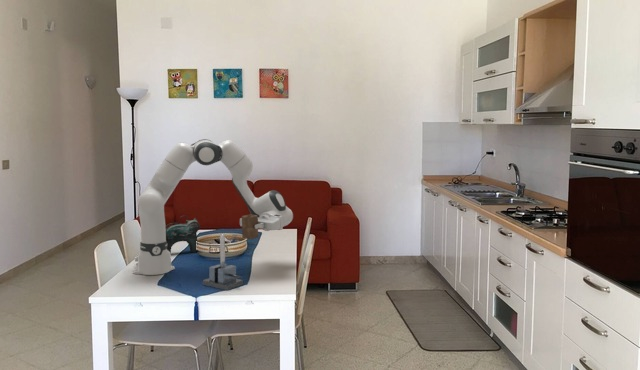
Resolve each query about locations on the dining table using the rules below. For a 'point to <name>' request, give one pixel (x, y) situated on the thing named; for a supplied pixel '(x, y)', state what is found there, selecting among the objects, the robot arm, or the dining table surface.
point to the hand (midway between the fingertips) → (248, 226)
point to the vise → (223, 272)
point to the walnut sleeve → (249, 226)
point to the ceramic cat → (183, 234)
